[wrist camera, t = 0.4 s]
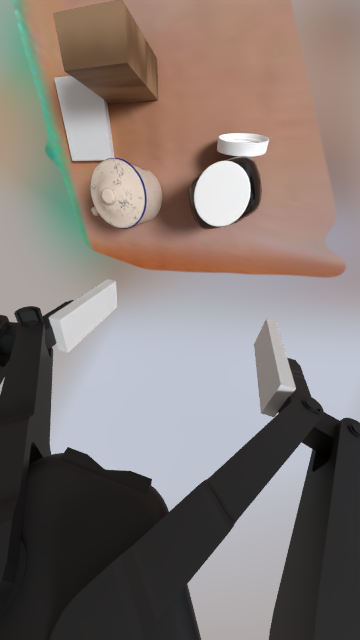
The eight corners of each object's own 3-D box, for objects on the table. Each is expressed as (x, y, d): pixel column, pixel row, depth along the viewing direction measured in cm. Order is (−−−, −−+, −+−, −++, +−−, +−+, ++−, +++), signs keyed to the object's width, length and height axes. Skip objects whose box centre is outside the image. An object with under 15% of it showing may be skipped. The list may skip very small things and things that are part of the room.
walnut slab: (105, 65, 29) (53, 13, 21) (157, 58, 27) (121, -1, 19) (110, 104, 31) (64, 70, 23) (158, 100, 29) (127, 62, 21)
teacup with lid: (152, 155, 33) (117, 138, 24) (171, 213, 37) (147, 219, 27) (99, 185, 38) (51, 181, 28) (120, 234, 42) (85, 245, 32)
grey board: (59, 80, 31) (54, 77, 30) (103, 75, 29) (100, 72, 29) (76, 161, 36) (72, 160, 36) (114, 160, 35) (111, 159, 34)
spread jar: (204, 229, 37) (192, 241, 28) (185, 158, 32) (162, 142, 23) (273, 204, 32) (287, 207, 23) (263, 117, 28) (275, 75, 18)
